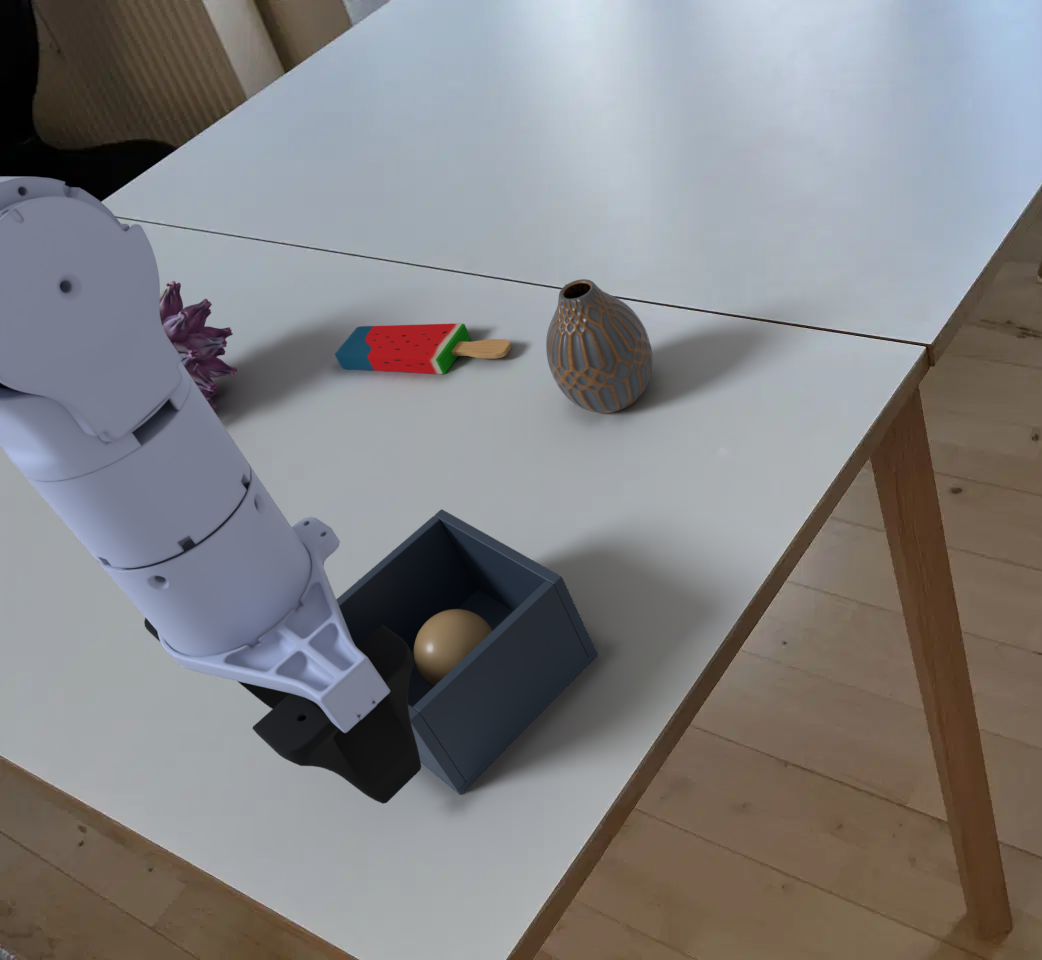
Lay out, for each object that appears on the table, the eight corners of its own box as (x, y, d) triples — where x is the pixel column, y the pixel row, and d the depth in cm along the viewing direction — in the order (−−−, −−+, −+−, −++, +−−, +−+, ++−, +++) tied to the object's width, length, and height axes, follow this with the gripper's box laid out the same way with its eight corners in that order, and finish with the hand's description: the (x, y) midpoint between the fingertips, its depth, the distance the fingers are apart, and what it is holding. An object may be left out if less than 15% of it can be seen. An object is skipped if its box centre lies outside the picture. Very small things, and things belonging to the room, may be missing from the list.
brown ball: (465, 722, 58) (435, 672, 55) (415, 685, 61) (384, 635, 58) (524, 665, 60) (498, 613, 57) (473, 631, 63) (446, 580, 60)
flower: (269, 428, 88) (112, 478, 84) (237, 360, 96) (93, 402, 92) (227, 299, 80) (53, 347, 76) (196, 238, 89) (39, 278, 85)
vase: (676, 364, 77) (644, 257, 71) (641, 430, 72) (604, 322, 67) (589, 362, 80) (551, 259, 74) (550, 425, 75) (507, 321, 70)
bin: (460, 795, 55) (410, 721, 51) (349, 704, 62) (297, 632, 57) (598, 654, 59) (562, 576, 55) (481, 583, 66) (441, 508, 62)
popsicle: (491, 360, 81) (330, 357, 87) (498, 375, 82) (338, 372, 88) (517, 322, 84) (359, 322, 90) (523, 338, 85) (367, 337, 91)
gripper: (382, 502, 34) (525, 748, 43) (176, 381, 43) (328, 604, 52) (193, 660, 31) (388, 889, 40) (14, 493, 40) (205, 710, 49)
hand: (346, 736), depth 46 cm, fingers open, 7 cm apart
